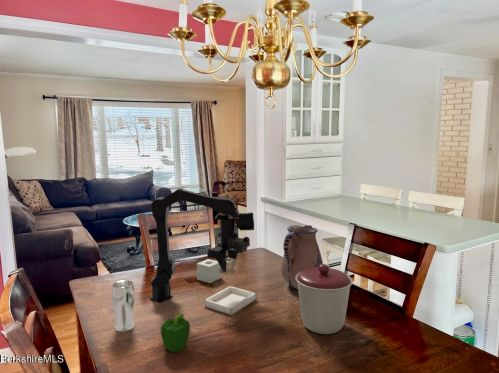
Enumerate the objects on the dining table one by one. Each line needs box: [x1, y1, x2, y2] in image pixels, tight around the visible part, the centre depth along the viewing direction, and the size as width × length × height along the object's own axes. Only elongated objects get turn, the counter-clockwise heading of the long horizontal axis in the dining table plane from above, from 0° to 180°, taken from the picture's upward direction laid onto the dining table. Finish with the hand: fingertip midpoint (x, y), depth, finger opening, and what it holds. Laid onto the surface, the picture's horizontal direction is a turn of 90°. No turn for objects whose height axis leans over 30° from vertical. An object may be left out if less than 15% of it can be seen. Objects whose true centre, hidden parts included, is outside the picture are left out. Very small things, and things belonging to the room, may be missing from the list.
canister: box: [295, 263, 353, 335], centre depth 119 cm, size 18×18×21 cm
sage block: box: [196, 258, 222, 284], centre depth 162 cm, size 8×8×8 cm
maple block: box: [219, 257, 238, 276], centre depth 142 cm, size 5×5×5 cm
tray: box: [204, 285, 257, 316], centre depth 138 cm, size 16×13×2 cm
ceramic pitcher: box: [280, 224, 324, 290], centre depth 151 cm, size 18×21×25 cm
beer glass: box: [111, 279, 135, 333], centre depth 120 cm, size 7×7×15 cm
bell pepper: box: [160, 313, 191, 353], centre depth 108 cm, size 8×8×10 cm
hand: (228, 269), depth 142 cm, fingers closed on maple block, 5 cm apart
